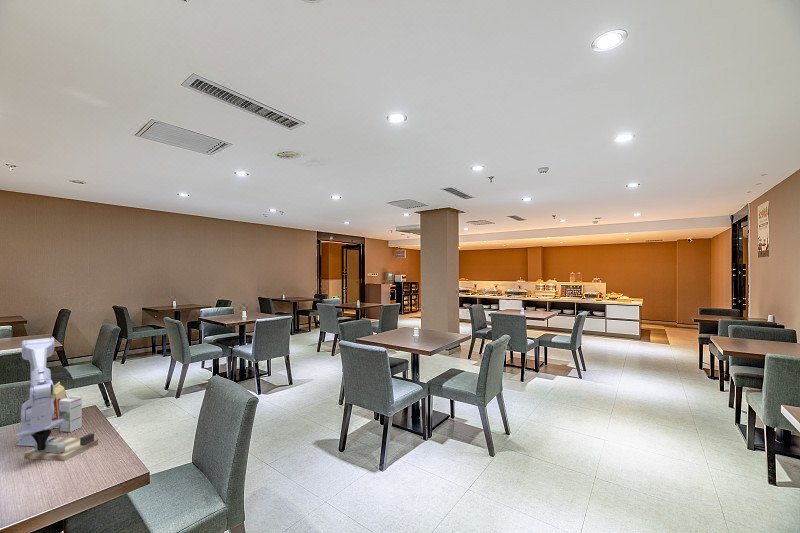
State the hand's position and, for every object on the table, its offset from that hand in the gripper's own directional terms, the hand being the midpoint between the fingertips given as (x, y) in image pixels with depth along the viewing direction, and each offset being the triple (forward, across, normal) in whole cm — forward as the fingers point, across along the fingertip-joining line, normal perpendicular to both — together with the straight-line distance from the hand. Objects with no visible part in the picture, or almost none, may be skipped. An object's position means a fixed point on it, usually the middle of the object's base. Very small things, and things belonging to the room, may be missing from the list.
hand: (41, 449), depth 140 cm
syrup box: (+3, +21, +19) cm, 28 cm away
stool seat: (+3, +6, -1) cm, 7 cm away
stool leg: (+1, +2, -2) cm, 3 cm away
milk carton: (+3, +22, +31) cm, 38 cm away
